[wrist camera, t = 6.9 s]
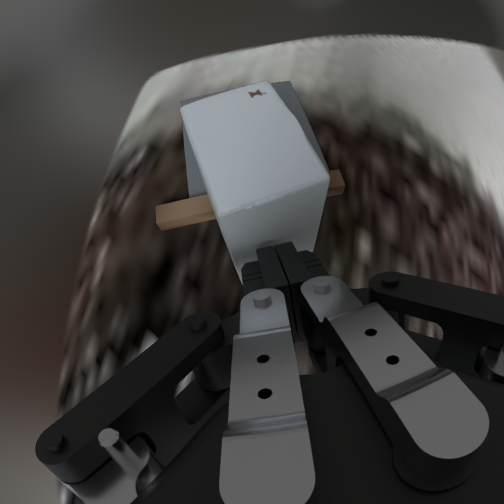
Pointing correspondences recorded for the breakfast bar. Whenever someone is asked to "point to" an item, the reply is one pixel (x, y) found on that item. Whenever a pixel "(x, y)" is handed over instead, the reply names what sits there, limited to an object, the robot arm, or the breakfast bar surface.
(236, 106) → the skincare box
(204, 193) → the grey mat
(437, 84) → the breakfast bar surface
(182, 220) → the walnut strip
